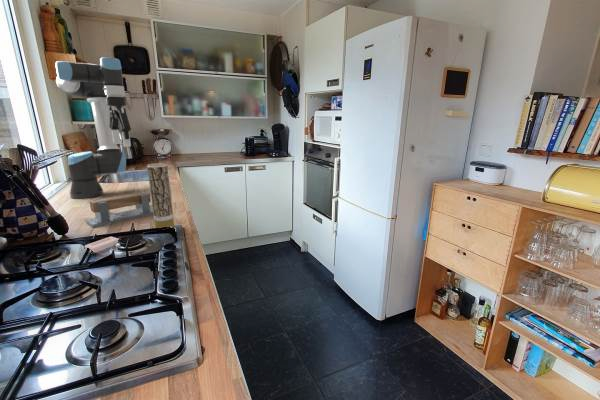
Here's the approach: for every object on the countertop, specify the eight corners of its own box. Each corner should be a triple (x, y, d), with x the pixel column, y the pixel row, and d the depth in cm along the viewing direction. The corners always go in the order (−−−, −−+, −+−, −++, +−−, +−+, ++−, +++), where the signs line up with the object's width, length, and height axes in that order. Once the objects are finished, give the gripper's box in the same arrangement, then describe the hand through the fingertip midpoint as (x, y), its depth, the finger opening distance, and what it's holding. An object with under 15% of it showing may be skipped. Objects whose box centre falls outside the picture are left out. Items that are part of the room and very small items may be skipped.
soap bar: (122, 245, 104) (121, 238, 104) (94, 255, 97) (93, 248, 96) (112, 242, 107) (111, 235, 106) (84, 252, 99) (83, 245, 98)
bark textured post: (167, 232, 115) (159, 166, 109) (151, 230, 117) (142, 165, 110) (177, 225, 122) (171, 163, 115) (162, 224, 123) (155, 162, 116)
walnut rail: (91, 210, 124) (89, 201, 123) (147, 200, 140) (146, 191, 139) (94, 212, 121) (92, 203, 120) (150, 202, 137) (149, 193, 136)
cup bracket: (85, 221, 126) (81, 200, 123) (150, 208, 144) (147, 190, 142) (92, 227, 119) (88, 205, 117) (159, 213, 138) (157, 193, 135)
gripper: (97, 96, 139) (104, 143, 145) (115, 95, 123) (122, 148, 129) (115, 97, 145) (121, 142, 151) (135, 96, 128) (141, 147, 134)
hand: (122, 145), depth 140 cm, fingers open, 13 cm apart
